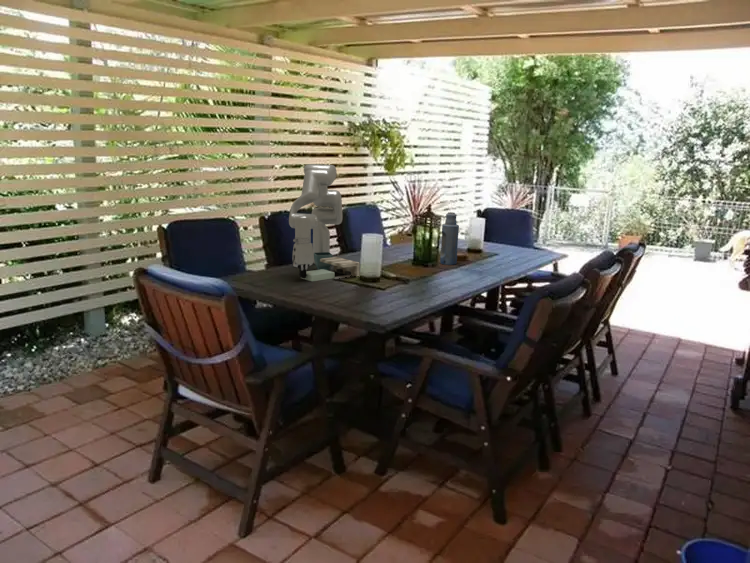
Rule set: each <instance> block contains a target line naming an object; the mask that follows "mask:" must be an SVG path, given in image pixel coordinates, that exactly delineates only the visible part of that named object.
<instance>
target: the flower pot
mask: <svg viewBox="0 0 750 563" xmlns="http://www.w3.org/2000/svg"><path fill="white" fill-rule="evenodd" d="M331 257H334V256H333V254H332V253H331V252H330V253H329V252H319V253H314V261H315V264H314V265H315V267H316V270H321V269H324V270H328V271H330V268H331V266H332V265H331V264H327V263H324V262H320V259H322V258H331Z"/></svg>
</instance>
